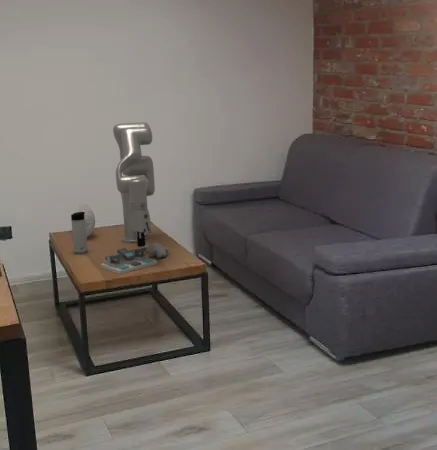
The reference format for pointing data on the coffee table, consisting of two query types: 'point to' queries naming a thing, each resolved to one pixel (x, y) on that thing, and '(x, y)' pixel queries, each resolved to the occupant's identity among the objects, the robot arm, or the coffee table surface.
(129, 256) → the rocker middle
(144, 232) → the robot arm
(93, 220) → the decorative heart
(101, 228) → the coffee table surface
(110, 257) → the rocker
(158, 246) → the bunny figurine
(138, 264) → the switch unit
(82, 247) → the travel mug
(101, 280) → the coffee table surface
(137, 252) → the rocker nearest
